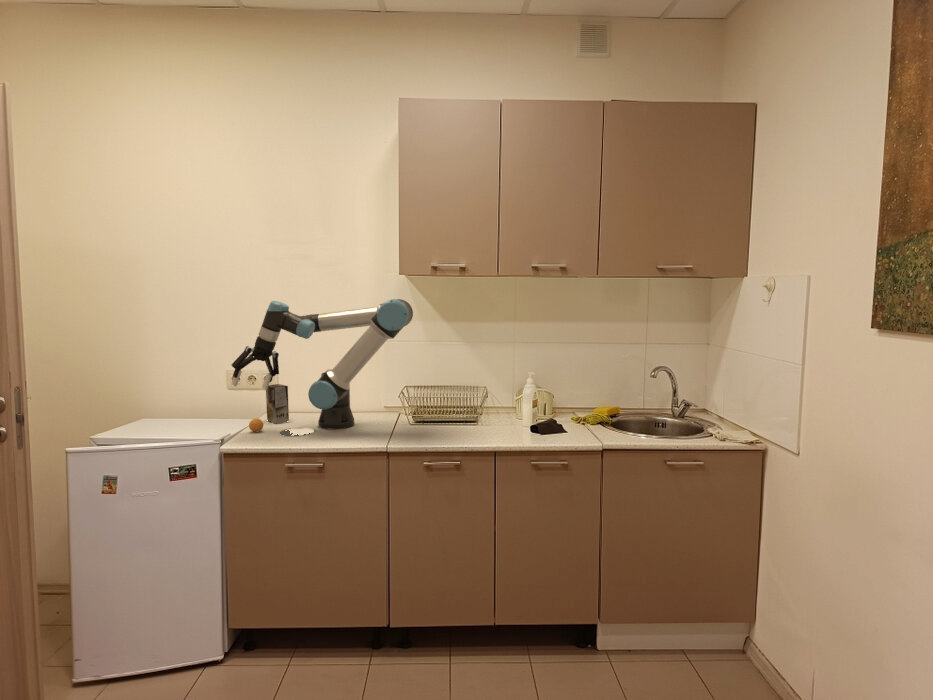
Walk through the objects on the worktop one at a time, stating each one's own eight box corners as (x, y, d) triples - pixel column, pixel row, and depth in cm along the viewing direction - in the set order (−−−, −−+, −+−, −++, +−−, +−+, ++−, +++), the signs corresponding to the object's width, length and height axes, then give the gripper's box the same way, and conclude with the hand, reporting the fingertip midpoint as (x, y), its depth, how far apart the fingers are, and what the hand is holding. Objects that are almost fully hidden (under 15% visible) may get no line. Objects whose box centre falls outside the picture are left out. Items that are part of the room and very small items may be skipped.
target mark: (319, 428, 245) (319, 427, 245) (309, 436, 231) (309, 435, 231) (286, 427, 245) (286, 427, 245) (274, 436, 231) (274, 435, 231)
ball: (265, 430, 241) (265, 417, 241) (260, 433, 236) (259, 420, 235) (252, 430, 242) (252, 417, 241) (247, 433, 236) (246, 420, 236)
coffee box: (289, 422, 256) (288, 385, 255) (275, 424, 252) (274, 387, 250) (280, 418, 263) (278, 383, 261) (266, 421, 259) (265, 385, 257)
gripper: (288, 340, 246) (271, 386, 248) (234, 329, 226) (216, 379, 229) (298, 346, 241) (280, 393, 243) (243, 336, 222) (224, 387, 224)
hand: (249, 387), depth 236 cm, fingers open, 13 cm apart
